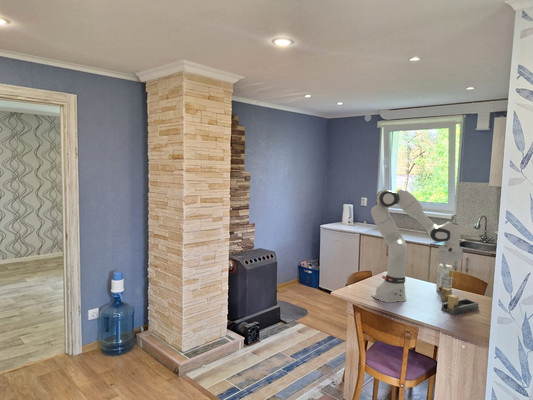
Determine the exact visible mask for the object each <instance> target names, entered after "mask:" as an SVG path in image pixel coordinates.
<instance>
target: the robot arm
mask: <svg viewBox="0 0 533 400" xmlns="http://www.w3.org/2000/svg"><path fill="white" fill-rule="evenodd" d="M395 205H397V206H399V208H400V209H401V210H402V211H403V212H404V213H405V214H407V215H408V216H409V217H411V218H413V219H415V220H417V222H418V223H419V224H420V225H422V226H423V228H424V229H425V232H426V235H427V236H428V237H429V238H431V240H432V241H434V242H436V243H438V242H439V243H440V242H443V243H442V245H440V246H438V254H437V262H438V263H440V264H443V269H447V266H446V264H447V263H452V262H453V264H452V266H453V269H455V268H457V267H458V266H457V265H458V263H459V261H463V259H464V253H463V248H462V246H461V245H460V239H461V226H460V224H459V223H456V222H454V221H447V222H445V223H442V224H441V225H440V224H438V223H435V222H433V221H432V220H431V219H430V218H429V217H428V215H426V213H425V212H424V209H423V206H422V204H421V202H420V201H419V200H418V199H417V198H416V197H415V195H414V194H412V193H411V192H410V191H408V190H407V189H404V188H402V189H398V190H397V191H393V190H388V189H384V190H383V189H382V190H380V191H379V192H378V193H377V194H376V197H375V205H374V206H373V207H372V208H371V210H370V214H371V217H372V219H373V222H374V224H375V227H377V229H378V231H379V233H380V235H381V237H382V238H383V240H384V241H385V242H386V244H387V247H388V258H387V259H388V260H387V269H386V270H387V272H386V275H382V276H381V278H382V279H383V281H382V282H381V283H380V284H379V285H378V286H377V287H376V289H375V292H374V293H372V294H371V296H372V298H374V297H375V298H377V299H379V300H378V301H380V300H382V301H381V302H383V301H385V302H384V303H397V301H399V302H406V301H407V297H406V287H405V283H406V265H407V263H406V262H407V258H408V246H407V243H406V241H405V238H404V237H403V235H402V234H401V232H400V230H399V229H398V226H397V225H396V223H395V221H394V219H393V217H392V216H391V214H390V212H389V207H393V206H395ZM447 265H448V264H447ZM375 298H374V299H375ZM377 299H376V300H377Z"/></svg>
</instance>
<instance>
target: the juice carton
mask: <svg viewBox="0 0 533 400" xmlns="http://www.w3.org/2000/svg"><path fill="white" fill-rule="evenodd" d="M437 266H438V267H437V271H436V272H437V273H436V285H435V288H436V292H440V293H442V288H449V289H452V286H453V285H452V284H453V276H454V275H453V274H454V270H453V269H454V267H453V265H451V264H446V266H447V269H443V264H442V263H440V264H438V265H437Z"/></svg>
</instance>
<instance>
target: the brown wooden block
mask: <svg viewBox="0 0 533 400" xmlns="http://www.w3.org/2000/svg"><path fill="white" fill-rule="evenodd" d="M452 290H453V289H452V288H451V289H449V288H442V292H440V293H441V296H440V297H441V298H440V299H441V300H440V301H442V302H444V303H447V302H448V295H453V294H452V293H453V291H452Z"/></svg>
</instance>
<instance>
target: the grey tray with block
mask: <svg viewBox="0 0 533 400" xmlns="http://www.w3.org/2000/svg"><path fill="white" fill-rule="evenodd" d="M479 309H480V307H479V302H477V301H475V300H471V299H468V298H462V299H460V297H459V296H457V295H455V294H451V295H448V302H444V303H441V309H440V310H442V311H443V312H446V313H448V314H451V315H452V316H458V315H462V314H465V313H470V312H474V311H479Z"/></svg>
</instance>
